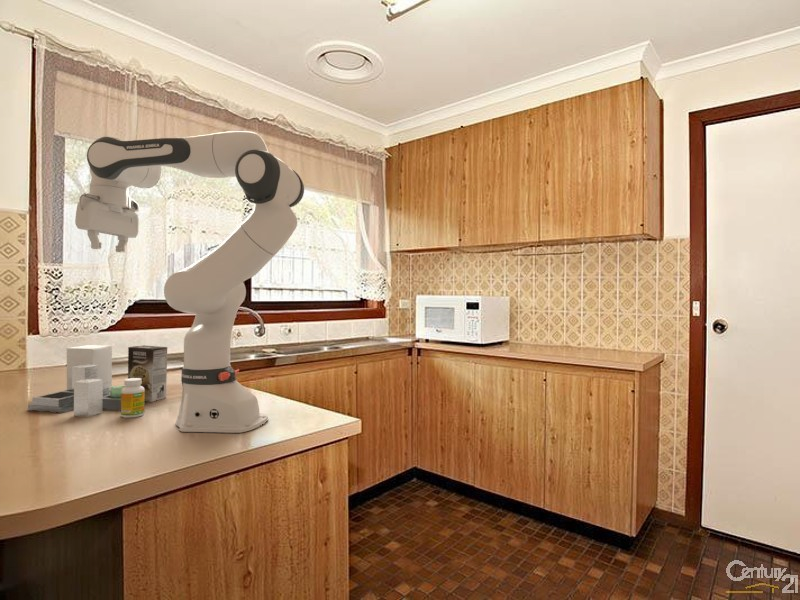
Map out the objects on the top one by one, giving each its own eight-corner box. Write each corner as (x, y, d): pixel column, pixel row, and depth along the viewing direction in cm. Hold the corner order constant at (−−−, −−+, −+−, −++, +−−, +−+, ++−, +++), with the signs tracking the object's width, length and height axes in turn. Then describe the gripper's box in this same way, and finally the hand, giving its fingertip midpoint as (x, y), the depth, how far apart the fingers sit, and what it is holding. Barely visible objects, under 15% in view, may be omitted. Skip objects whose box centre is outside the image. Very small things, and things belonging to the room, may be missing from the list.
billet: (102, 412, 124) (102, 379, 124) (88, 417, 120) (88, 382, 120) (88, 411, 125) (88, 378, 125) (73, 415, 121) (74, 381, 121)
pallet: (112, 398, 140) (113, 364, 139) (61, 412, 123) (61, 374, 123) (82, 396, 142) (82, 362, 142) (28, 410, 125) (28, 371, 125)
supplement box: (112, 390, 151) (113, 345, 151) (91, 396, 142) (92, 348, 142) (87, 389, 152) (88, 344, 152) (65, 395, 143) (65, 347, 143)
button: (129, 396, 133) (130, 386, 133) (118, 399, 129) (119, 389, 129) (118, 395, 133) (118, 385, 133) (106, 398, 129) (106, 388, 129)
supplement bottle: (133, 418, 119) (134, 381, 119) (115, 417, 120) (116, 380, 120) (148, 413, 124) (149, 378, 124) (131, 412, 125) (132, 376, 125)
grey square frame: (141, 403, 134) (141, 393, 134) (119, 410, 126) (119, 399, 126) (117, 402, 136) (117, 392, 136) (94, 408, 128) (94, 398, 128)
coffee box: (126, 400, 139) (126, 347, 138) (143, 395, 145) (143, 344, 145) (151, 402, 136) (152, 348, 136) (167, 397, 143) (168, 346, 142)
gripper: (92, 191, 113) (92, 246, 114) (143, 206, 134) (142, 254, 134) (68, 191, 114) (67, 246, 114) (122, 206, 134) (121, 253, 134)
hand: (108, 250), depth 124 cm, fingers open, 8 cm apart
